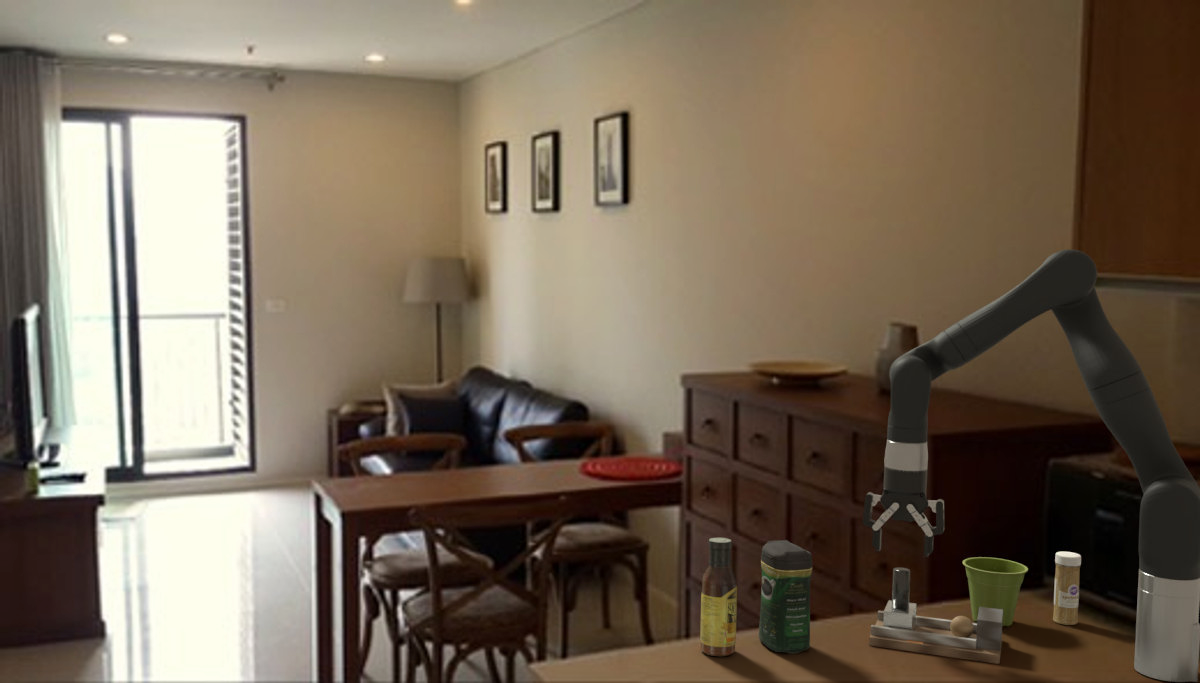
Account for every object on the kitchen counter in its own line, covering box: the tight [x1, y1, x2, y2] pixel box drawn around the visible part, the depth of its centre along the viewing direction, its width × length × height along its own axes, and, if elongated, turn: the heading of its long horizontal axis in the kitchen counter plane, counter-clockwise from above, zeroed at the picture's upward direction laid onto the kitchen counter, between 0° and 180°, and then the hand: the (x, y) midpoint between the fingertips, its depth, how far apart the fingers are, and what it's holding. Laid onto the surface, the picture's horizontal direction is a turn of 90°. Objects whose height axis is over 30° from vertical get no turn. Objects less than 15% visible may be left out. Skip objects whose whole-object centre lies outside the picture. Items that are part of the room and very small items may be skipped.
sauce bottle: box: [699, 537, 738, 657], centre depth 189 cm, size 7×6×20 cm
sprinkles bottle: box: [1052, 550, 1082, 626], centre depth 208 cm, size 5×5×14 cm
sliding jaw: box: [883, 567, 917, 631], centre depth 197 cm, size 5×7×11 cm
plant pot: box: [962, 556, 1029, 627], centre depth 207 cm, size 12×12×11 cm
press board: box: [868, 607, 1003, 665], centre depth 195 cm, size 22×13×6 cm, turn 68°
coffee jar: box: [758, 539, 813, 654], centre depth 192 cm, size 10×8×19 cm
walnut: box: [950, 615, 974, 638], centre depth 194 cm, size 4×4×4 cm
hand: (902, 552), depth 197 cm, fingers open, 8 cm apart
